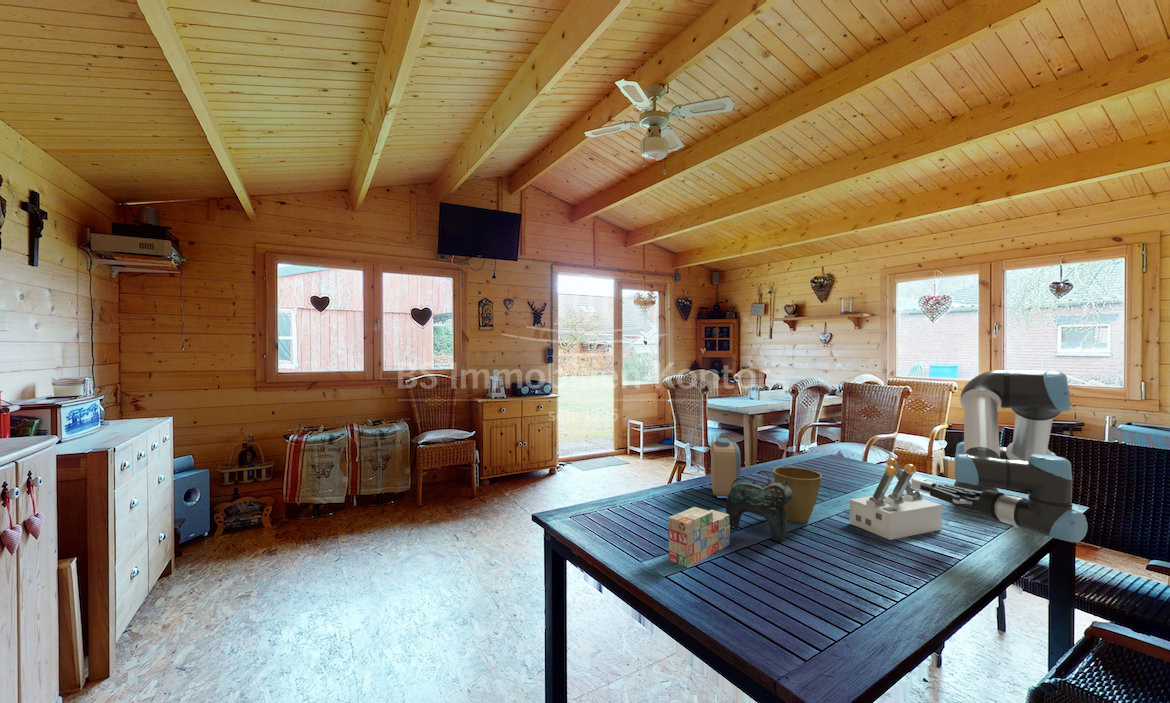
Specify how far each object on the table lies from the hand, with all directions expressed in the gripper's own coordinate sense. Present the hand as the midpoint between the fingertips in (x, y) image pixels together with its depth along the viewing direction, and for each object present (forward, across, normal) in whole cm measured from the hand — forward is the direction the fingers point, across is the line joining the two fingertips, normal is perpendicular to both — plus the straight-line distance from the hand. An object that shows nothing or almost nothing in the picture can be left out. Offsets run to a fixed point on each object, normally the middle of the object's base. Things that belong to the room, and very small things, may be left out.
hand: (913, 483), depth 145 cm
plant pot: (+22, -24, -16) cm, 37 cm away
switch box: (+6, +1, -16) cm, 17 cm away
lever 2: (+5, +9, -7) cm, 13 cm away
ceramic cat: (+17, -45, -16) cm, 51 cm away
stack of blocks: (+12, -70, -16) cm, 73 cm away
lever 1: (+7, -8, -7) cm, 13 cm away
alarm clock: (+53, -30, -16) cm, 63 cm away
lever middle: (+7, +1, -7) cm, 10 cm away
